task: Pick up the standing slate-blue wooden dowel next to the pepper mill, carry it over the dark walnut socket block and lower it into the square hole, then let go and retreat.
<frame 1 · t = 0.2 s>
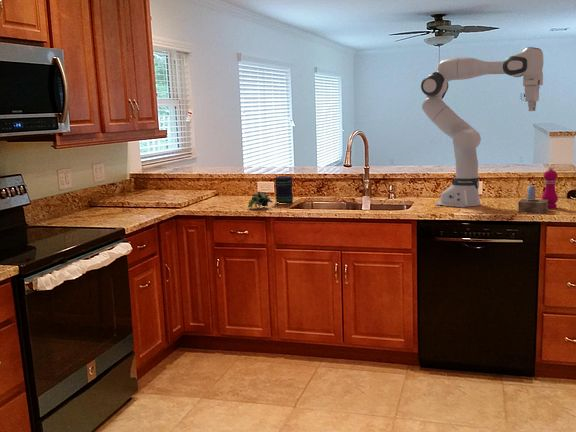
hand: (532, 111, 291), 47 cm above the table, tool pointing down, fingers open, 8 cm apart
potted plant: (260, 209, 329), on the table
peg: (531, 205, 302), on the table
storage jar: (284, 203, 345), on the table
socket block: (533, 211, 287), on the table
pepper mill: (549, 208, 294), on the table
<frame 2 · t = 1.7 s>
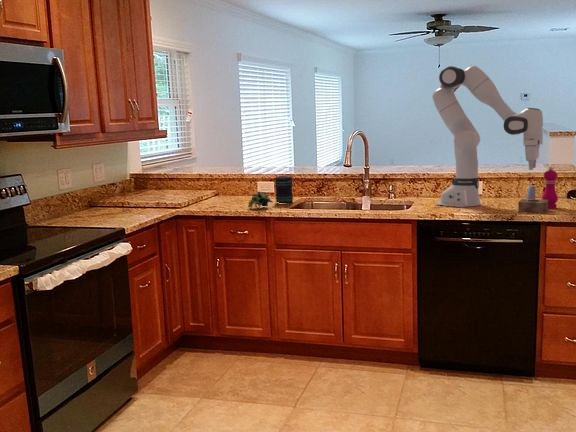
hand: (532, 168, 299), 19 cm above the table, tool pointing down, fingers open, 8 cm apart
nothing on the table moved.
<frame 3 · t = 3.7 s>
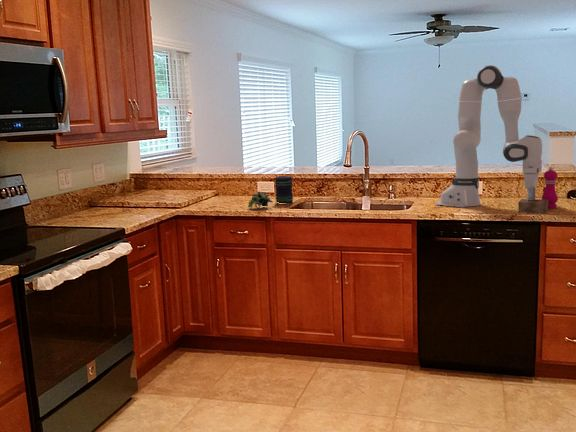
hand: (531, 195, 301), 5 cm above the table, tool pointing down, fingers closed on peg, 4 cm apart
peg: (531, 205, 302), on the table, touching gripper
everything else where it was.
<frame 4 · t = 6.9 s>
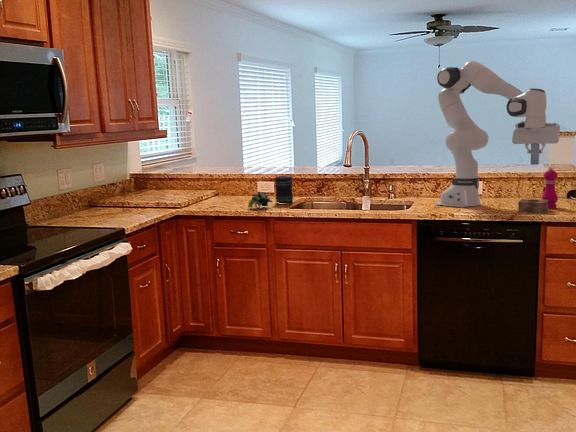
hand: (534, 153, 282), 28 cm above the table, tool pointing down, fingers closed on peg, 4 cm apart
peg: (534, 164, 283), point 22 cm above the table, touching gripper
everything else where it was.
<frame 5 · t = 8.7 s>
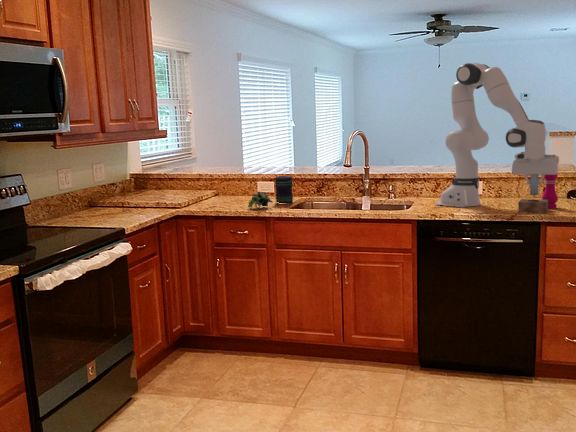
hand: (534, 184, 285), 13 cm above the table, tool pointing down, fingers closed on peg, 4 cm apart
peg: (534, 194, 285), point 8 cm above the table, touching gripper
everything else where it was.
when the fingers open (7 cm above the table, at t = 10.2 s): peg drops 2 cm, resting in socket block.
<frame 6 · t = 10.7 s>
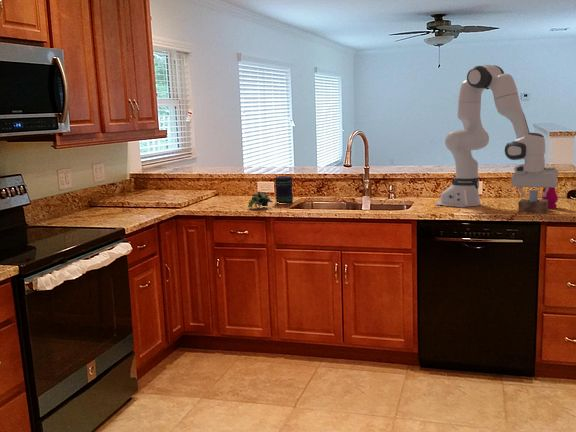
hand: (533, 196, 286), 7 cm above the table, tool pointing down, fingers open, 8 cm apart
peg: (533, 211, 287), resting in socket block
everything else where it was.
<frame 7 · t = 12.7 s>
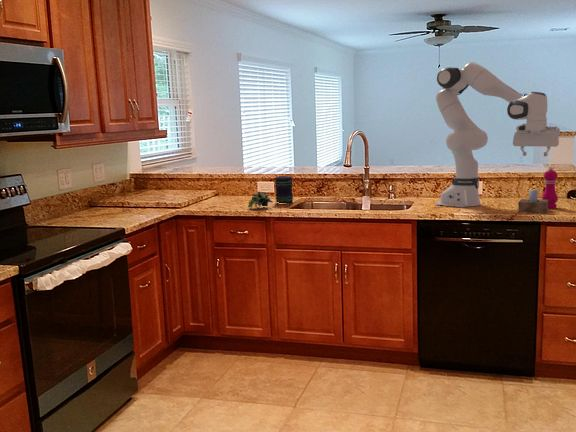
hand: (534, 155, 287), 26 cm above the table, tool pointing down, fingers open, 8 cm apart
nothing on the table moved.
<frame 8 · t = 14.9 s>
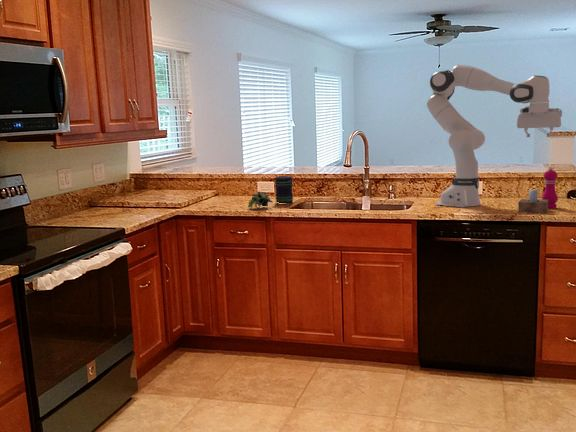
hand: (538, 137, 299), 34 cm above the table, tool pointing down, fingers open, 8 cm apart
nothing on the table moved.
at the end: peg 0.1 cm off-centre on the socket block, point 0.0 cm above the socket block's base; peg tilted 0°; the gripper is holding nothing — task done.
